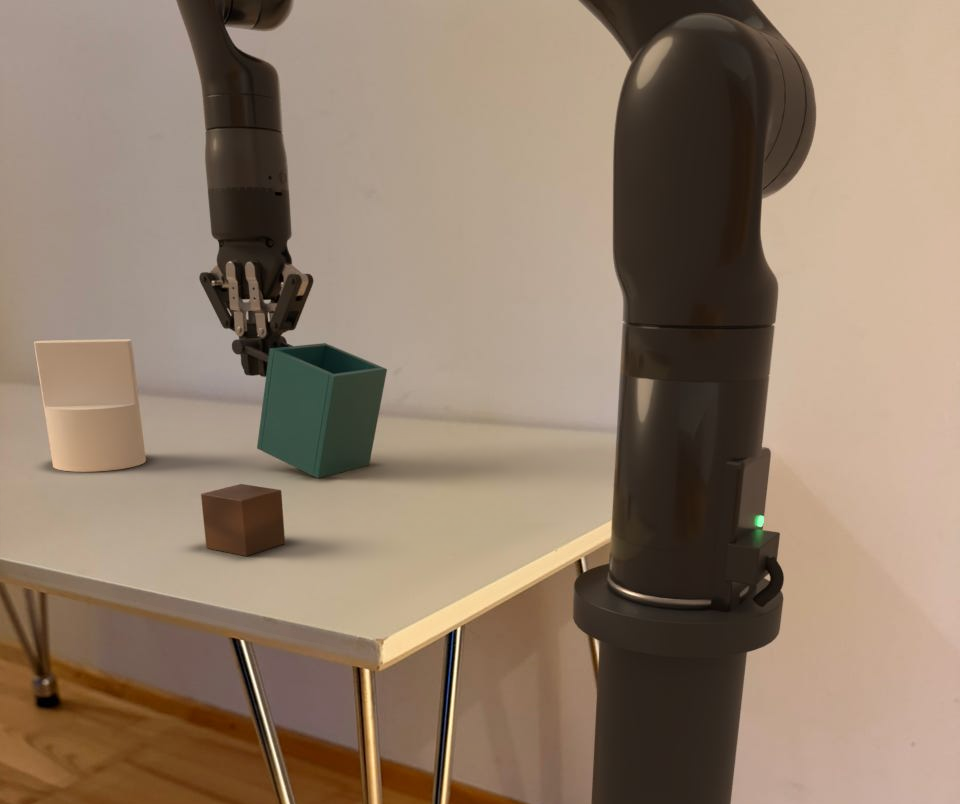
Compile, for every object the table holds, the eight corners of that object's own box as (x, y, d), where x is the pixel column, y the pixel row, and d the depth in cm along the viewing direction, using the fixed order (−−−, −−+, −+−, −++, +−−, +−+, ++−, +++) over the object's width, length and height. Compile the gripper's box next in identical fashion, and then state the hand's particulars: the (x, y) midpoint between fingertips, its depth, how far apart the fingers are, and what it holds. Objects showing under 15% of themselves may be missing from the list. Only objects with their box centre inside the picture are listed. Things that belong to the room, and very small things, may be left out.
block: (285, 543, 72) (281, 489, 71) (246, 556, 69) (241, 500, 68) (245, 535, 74) (241, 483, 73) (206, 548, 71) (200, 493, 70)
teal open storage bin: (387, 368, 95) (284, 325, 100) (334, 376, 89) (227, 329, 94) (369, 465, 100) (271, 419, 105) (317, 478, 94) (216, 429, 99)
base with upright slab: (147, 453, 106) (133, 336, 102) (144, 468, 98) (129, 343, 93) (58, 457, 104) (39, 338, 99) (47, 473, 96) (27, 345, 91)
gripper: (166, 186, 93) (185, 374, 99) (275, 181, 86) (288, 383, 92) (225, 190, 99) (239, 368, 105) (330, 186, 92) (339, 376, 98)
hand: (262, 374), depth 99 cm, fingers closed
